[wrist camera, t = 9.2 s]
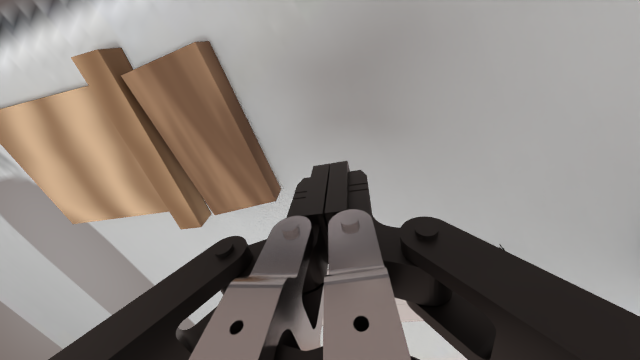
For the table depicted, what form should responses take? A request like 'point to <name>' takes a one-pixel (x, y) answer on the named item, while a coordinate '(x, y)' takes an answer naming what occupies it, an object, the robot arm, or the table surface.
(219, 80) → the plank
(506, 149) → the table surface
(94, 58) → the floor edge
